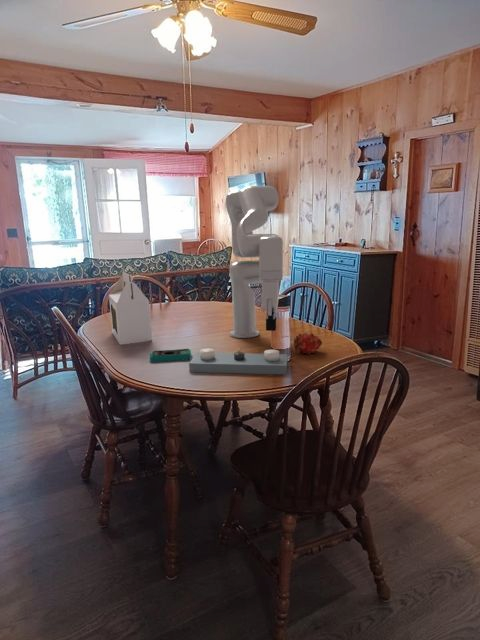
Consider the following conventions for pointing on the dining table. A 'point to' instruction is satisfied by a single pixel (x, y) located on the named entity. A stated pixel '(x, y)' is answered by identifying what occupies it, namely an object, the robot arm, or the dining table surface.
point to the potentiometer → (239, 355)
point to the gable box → (129, 312)
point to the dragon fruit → (307, 343)
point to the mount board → (239, 364)
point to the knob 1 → (207, 354)
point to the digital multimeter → (170, 355)
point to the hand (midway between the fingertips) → (271, 329)
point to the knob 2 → (271, 355)
